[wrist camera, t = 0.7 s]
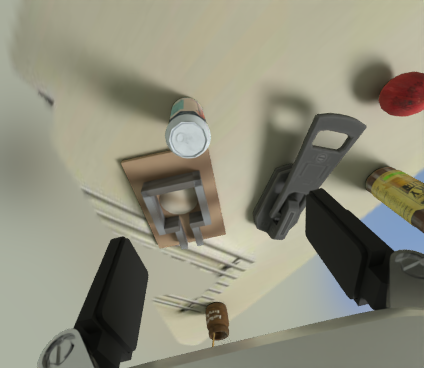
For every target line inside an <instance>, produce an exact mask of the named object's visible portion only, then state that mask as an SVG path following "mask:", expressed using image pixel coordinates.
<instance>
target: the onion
mask: <svg viewBox="0 0 424 368" xmlns="http://www.w3.org/2000/svg"><path fill="white" fill-rule="evenodd" d="M379 103H380V106H381V109H382V110H384V111H385V112H387V113H388V114H390V115H393V116H409V115H413V114H416V113H418V112H420V111H422V110H424V73H419V72H409V73H404V74H401V75H398V76H396V77H395V78H393V79H391V80H390V81H389V82H388V83H387V84H386V85H385V86H384V87H383V89H382V90H381V92H380V96H379Z"/></svg>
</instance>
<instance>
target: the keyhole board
mask: <svg viewBox="0 0 424 368" xmlns="http://www.w3.org/2000/svg"><path fill="white" fill-rule="evenodd" d="M121 164H122V167H123V169H124V171H125V173H126V175H127V178H128V180H129V182H130V184H131V186H132V189H133V191H134V193H135V195H136V197H137V199H138V202H139V204H140V206H141V208H142V210H143V213H144V215H145V217H146V219H147V221H148V224H149V226H150V228H151V230H152V232H153V235H154V237H155V239H156V241H157V243H158V245H159V248H165V247H169V246H174V245H179V244H180V246H181V249H186V248H188V242H193V241H196V243H197V246H200V245H203V239H207V238H211V237H216V236H221V235H225V234H226V233H225V228H224V223H223V218H222V213H221V208H220V203H219V199H218V194H217V189H216V184H215V179H214V174H213V169H212V165H211V160H210V155H209V150H208V148H207V150H206V151H205V152H204V153H203V154H201V155H200V156H198V157H195V158H182V157H179V156H177V155H176V154H174V153H173V152H172V151H171V150H169V151H164V152H160V153H155V154H150V155H146V156H141V157H137V158H132V159H127V160H123V161H122V162H121Z"/></svg>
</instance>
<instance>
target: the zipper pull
mask: <svg viewBox="0 0 424 368" xmlns="http://www.w3.org/2000/svg"><path fill="white" fill-rule="evenodd" d="M365 129H366V125H365V124H363V123H362V122H360V121H359V120H357V119H355V118H352V117H350V116H346V115H342V114H334V113H324V114H317V115H315V117H314V119H313V122H312V124H311V126H310V128H309V130H308V133H307V135H306V137H305V139H304V142H303V144H302V147H301V149H300V151H299V153H298V155H297V158H296V160H295V162H294V164H288V165H285V166H282V167H279V168H276V169H275V171H274V173H273V175H272V176H271V178H270V180H269V182H268V184H267V186H266V188H265V190H264V192H263V194H262V196H261V198H260V200H259V202H258V204H257V205H256V207H255V209H254V211H253V216H254V222H255V225H256V227H257V229H259V230H262V231H264V232H267V233H268V235H269V236H270V237H271V238H272V239H276V240H283V239H285V237H286V235H287V233H288V231H289V230H290V229H291V228H292V227H293V226H294V225H295V224H296V223H297V222H298V219H299V216H300V214H301V212H302V211H303V209H304V208H305V206H306V195H307V194H309V192H310V191H311V190H315V189H319V187H320V186H321V185H322V183H323V182H324V181H325V180H326V178H327V177H328V176H329V174H330V173H331V172H332V171H333V169H334V168H335V167H336V166H337V164H338V163H339V162H340V160H341V159H342V158H343V157H344V155H345V154H346V153H347V152H348V151H349V149H350V148H351V147H352V145H353V144H354V143H355V142H356V140H357V139H358V138H359V136H360V135H361V134H362V133H363V131H364V130H365ZM324 130H330V131H335V132H340V133H345V134H347V135H348V138H347V139H346V141H345V142H344V144H343V145H342V146H341V147H340V148H338V149H337V150H336V149H330V148H325V147H319V146H314V145H312V142H313V140H314V139H315V137H316V135H317V133H318V132H319V131H324Z"/></svg>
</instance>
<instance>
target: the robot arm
mask: <svg viewBox="0 0 424 368" xmlns="http://www.w3.org/2000/svg"><path fill="white" fill-rule="evenodd" d="M305 232H306V237H307V239H308V240H309V242H310V243H311V245H312V246H313V248H314V249H315V250H316V252H317V253H318V255H319V256H320V258H321V259H322V260H323V262H324V263H325V265H326V266H327V268H328V269H329V270H330V272H331V273H332V275H333V276H334V277H335V279H336V281H337V282H338V283H339V285H340V286H341V288H342V289H343V291H344V292H345V293H346V295H347V296H348V297H349V298H350V299H354V301H355V302H356V303H357V305H358V306H361V305H365V304H369V305H370V307H371V308H372V309H373V310H374V311H369V312H365V313H359V314H355V315H350V316H345V317H340V318H335V319H331V320H326V321H323V322H318V323H314V324H309V325H305V326H301V327H296V328H292V329H287V330H283V331H279V332H275V333H271V334H266V335H262V336H257V337H253V338H249V339H244V340H240V341H236V342H232V343H227V344H223V345H219V346H215V347H211V348H207V349H202V350H198V351H194V352H190V353H186V354H181V355H178V356H174V357H169V358H165V359H161V360H157V361H153V362H149V363H145V364H141V365H137V366H133V367H129V368H424V254H422V253H419V252H417V251H413V250H398V251H394V250H392V249H391V248H390V247H389V246H388V245H387V244H386V243H385V242H384V241H382V240H381V239H380V238H379V237H378V236H377V235H376V234H375V233H374V232H372V231H371V230H370V229H369V228H368V227H367V226H366V225H365V224H364V223H362V222H361V221H360V220H359V219H358V218H357V217H356V216H355V215H354V214H352V213H351V212H350V211H349V210H346V209H345V208H344V207H343V206H341V205H340V204H339V203H338V202H337V201H336V200H335V199H334V198H333V197H332V196H330V195H329V194H328V193H327V192H326V191H325V190H324V189H322V188H320V189H315V190H311V191H310V192H309V194H307V195H306V230H305ZM147 282H148V271H147V269H146V268H145V266H144V264H143V263H142V261H141V259H140V257H139V256H138V254H137V252H136V250H135V249H134V247H133V245H132V244H131V242H130V240H129V239H128V238H125V237H118V238H114V239H112V240H111V241H110V243H109V245H108V247H107V250H106V252H105V255H104V257H103V259H102V262H101V264H100V267H99V269H98V272H97V273H96V276H95V278H94V281H93V283H92V285H91V288H90V290H89V292H88V295H87V297H86V300H85V302H84V305H83V307H82V309H81V311H80V314H79V316H78V319H77V321H76V323H75V326H74V328H73V329H67V330H65V331H62V332H61V333H59V334H58V335H56V336H55V337H54V338H53V339H52V340H51V341H50V342H49V343H48V344H47V345H46V347H45V348H44V349H43V351H42V353H41V355H40V357H39V360H38V363H37V368H119V365H120V362H124V361H128V360H131V357H132V352H133V351H134V350H135V349H136V346H137V340H138V335H139V328H140V323H141V317H142V311H143V305H144V300H145V294H146V288H147Z"/></svg>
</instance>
